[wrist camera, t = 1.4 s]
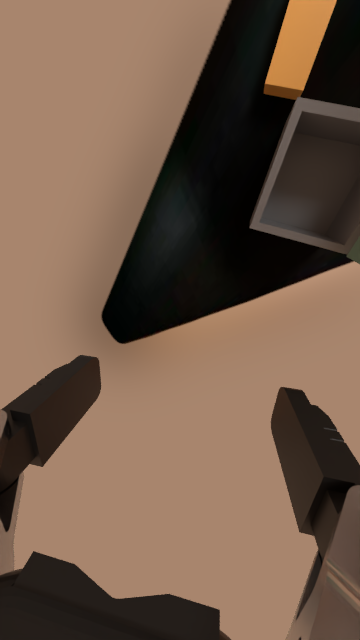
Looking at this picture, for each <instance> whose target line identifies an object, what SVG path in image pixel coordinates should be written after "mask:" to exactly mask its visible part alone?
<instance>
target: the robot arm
mask: <svg viewBox="0 0 360 640" xmlns="http://www.w3.org/2000/svg"><path fill="white" fill-rule="evenodd" d="M100 390H101V379H100V367H99V360H98V358H97V357H91V356H84V355H80V356H78V357H77V358H75V359H74V360H73V361H71V362H70V363H69V364H66V365H64V366H62V367H59V368H57V369H55V370H53V371H52V372H51V373H49V374H48V375H47V376H45V378H43V379H41V380H40V381H39V382H37V384H36V385H33V386H32V387H31V388H29V389H28V390H27V391H25V392H24V393H23V394H21V395H20V396H19V397H17V398H16V399H15V400H13V401H12V402H11V403H9V404H8V405H7V406H6V407H4V408H3V409H1V410H0V640H231V639H230V638H229V637H228V636H227V635H225V634H224V633H223V632H222V631H220V629H219V626H220V624H219V623H220V620H219V619H220V611H219V610H218V609H215V608H212V607H209V606H206V605H202V604H199V603H196V602H193V601H190V600H186V599H183V598H180V597H177V596H174V595H170V594H165V595H154V596H145V597H134V598H124V599H115V598H112V597H111V596H110V595H108V594H107V593H106V592H105V591H104V590H103V589H102V588H100V587H99V586H98V585H97V584H96V583H95V582H94V581H93V580H92V579H91V578H89V577H88V576H87V575H86V574H85V573H84V572H83V571H81V569H79V568H78V567H77V566H76V565H75V564H72V563H69V562H66V561H63V560H59V559H56V558H53V557H50V556H47V555H43V554H40V553H37V552H34V551H33V553H32V555H31V556H30V558H29V560H28V561H27V563H26V565H25V566H24V568H23V569H19V570H15V571H14V550H13V549H14V548H13V544H14V543H13V542H14V533H15V527H16V521H17V515H18V509H19V503H20V497H21V491H22V485H23V479H24V474H23V471H24V469H25V468H26V467H27V466H28V465H29V464H32V465H37V466H41V467H43V466H44V464H45V463H46V462H47V461H48V459H49V458H50V457H51V455H52V454H53V453H54V452H55V451H56V449H57V448H58V447H59V446H60V444H61V443H62V442H63V441H64V439H65V438H66V437H67V436H68V434H69V433H70V432H71V431H72V429H73V428H74V427H75V426H76V424H77V423H78V422H79V421H80V419H81V418H82V417H83V416H84V414H85V413H86V412H87V411H88V409H89V408H90V407H91V406H92V404H93V403H94V402H95V401H96V399H97V398H98V396H99V394H100ZM271 430H272V435H273V438H274V442H275V445H276V449H277V453H278V456H279V459H280V463H281V467H282V471H283V474H284V477H285V482H286V485H287V489H288V492H289V496H290V500H291V503H292V507H293V510H294V514H295V518H296V521H297V525H298V528H299V532H301V533H305V534H309V535H313V536H315V539H316V543H317V546H318V551H317V553H316V555H315V558H314V561H313V564H312V567H311V569H310V573H309V575H308V578H307V581H306V584H305V587H304V590H303V593H302V596H301V598H300V601H299V604H298V607H297V610H296V613H295V616H294V619H293V622H292V624H291V627H290V630H289V632H288V635H287V637H286V639H285V640H360V465H359V463H358V462H357V460H356V458H355V457H354V455H353V454H352V452H351V451H350V449H349V448H348V446H347V444H346V443H344V440H343V438H342V436H341V435H340V433H339V432H337V429H336V427H335V425H334V424H333V422H332V421H331V419H330V418H329V416H328V415H326V414H325V413H324V412H323V411H322V410H321V409H320V408H319V407H318V406H316V405H311V404H310V402H309V400H308V399H307V397H306V395H305V393H304V392H303V391H302V390H298V389H292V388H285V387H281V388H280V389H279V392H278V395H277V399H276V403H275V406H274V410H273V414H272V418H271Z"/></svg>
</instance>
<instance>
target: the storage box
mask: <svg viewBox="0 0 360 640" xmlns="http://www.w3.org/2000/svg"><path fill="white" fill-rule="evenodd" d="M250 228H251V229H255V230H259V231H262V232H266V233H270V234H273V235H277V236H281V237H284V238H288V239H292V240H295V241H299V242H303V243H306V244H310V245H314V246H317V247H321V248H325V249H328V250H332V251H336V252H339V253H343V254H347V255H348V253H349V252H350V250H351V249H352V247H353V246H354V244H355V242H356V241H357V239H358V238H359V236H360V108H355V107H349V106H344V105H338V104H333V103H328V102H322V101H317V100H312V99H306V98H301V97H297V99H296V101H295V104H294V106H293V108H292V110H291V112H290V114H289V116H288V119H287V121H286V123H285V126H284V128H283V131H282V134H281V137H280V139H279V142H278V145H277V148H276V150H275V153H274V156H273V159H272V162H271V164H270V167H269V170H268V173H267V175H266V178H265V181H264V184H263V186H262V189H261V192H260V195H259V198H258V200H257V203H256V206H255V209H254V211H253V214H252V217H251V220H250Z"/></svg>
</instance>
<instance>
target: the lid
mask: <svg viewBox="0 0 360 640" xmlns="http://www.w3.org/2000/svg"><path fill="white" fill-rule="evenodd" d="M346 257H348V258H350V259H352V260H353V261H355V262H357V263H359V264H360V236H359V238H358V239H357V241H356V242H355V244H354V246H353V247H352V249H351V250H350V252H349V253H348V255H347V256H346Z"/></svg>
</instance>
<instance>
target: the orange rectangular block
mask: <svg viewBox="0 0 360 640" xmlns="http://www.w3.org/2000/svg"><path fill="white" fill-rule="evenodd" d="M336 1H337V0H290V1H289V4H288V8H287V11H286V14H285V18H284V21H283V24H282V28H281V31H280V35H279V38H278V41H277V45H276V48H275V51H274V55H273V58H272V61H271V65H270V68H269V71H268V75H267V78H266V82H265V87H264V94H267V95H273V96H278V97H283V98H289V99H294V100H296V99H297V97H300V96H301V94H302V92H303V90H304V87H305V84H306V82H307V79H308V76H309V74H310V71H311V68H312V65H313V63H314V60H315V57H316V55H317V52H318V49H319V47H320V44H321V41H322V39H323V36H324V33H325V31H326V28H327V25H328V22H329V20H330V17H331V14H332V12H333V9H334V6H335V4H336Z"/></svg>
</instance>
